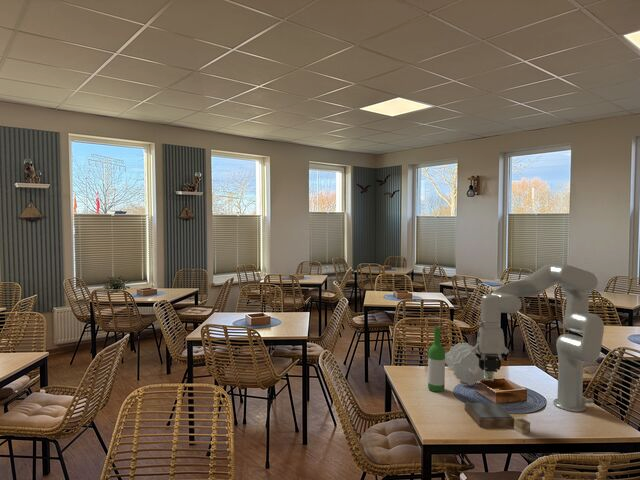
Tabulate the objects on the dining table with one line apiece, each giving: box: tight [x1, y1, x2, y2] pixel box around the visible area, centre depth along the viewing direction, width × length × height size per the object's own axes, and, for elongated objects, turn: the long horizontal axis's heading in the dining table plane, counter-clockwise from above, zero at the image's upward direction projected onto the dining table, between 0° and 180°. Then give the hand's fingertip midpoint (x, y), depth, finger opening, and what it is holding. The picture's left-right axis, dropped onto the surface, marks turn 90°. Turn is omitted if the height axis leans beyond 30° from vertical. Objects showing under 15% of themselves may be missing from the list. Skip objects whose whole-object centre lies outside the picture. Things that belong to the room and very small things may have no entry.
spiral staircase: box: [445, 341, 486, 386], centre depth 231 cm, size 18×18×25 cm
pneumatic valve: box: [483, 354, 499, 382], centre depth 184 cm, size 6×12×12 cm, turn 169°
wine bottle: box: [427, 326, 446, 393], centre depth 216 cm, size 8×8×30 cm
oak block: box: [513, 417, 531, 435], centre depth 173 cm, size 4×4×4 cm
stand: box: [464, 402, 515, 428], centre depth 185 cm, size 14×16×3 cm
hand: (489, 368), depth 184 cm, fingers closed on pneumatic valve, 5 cm apart
